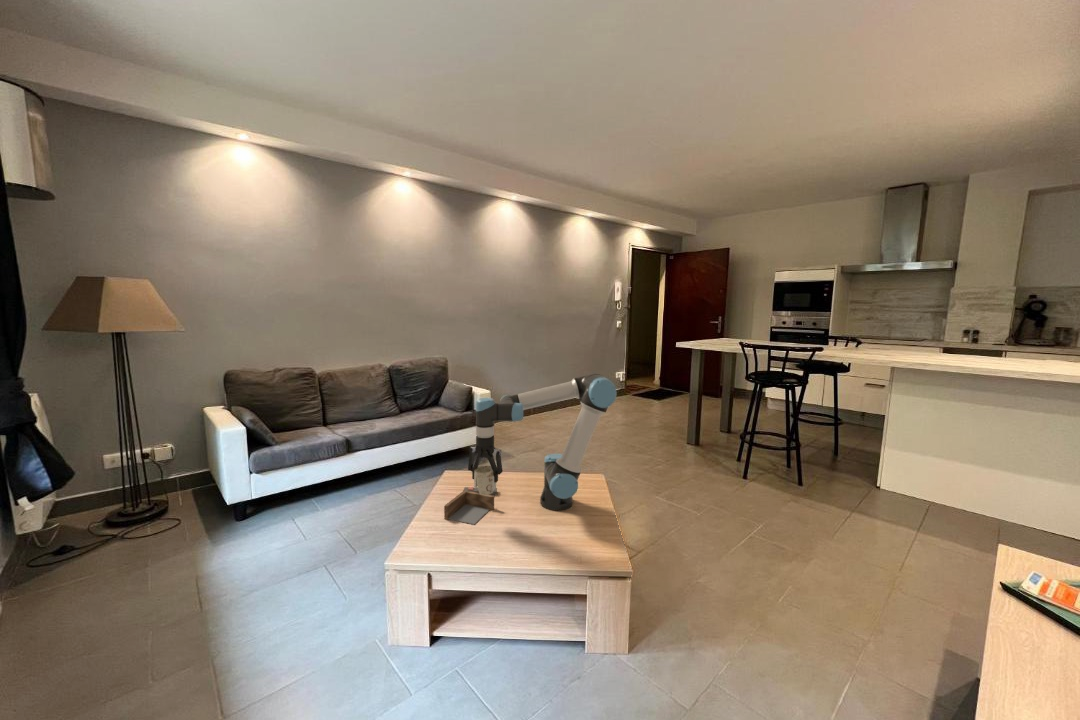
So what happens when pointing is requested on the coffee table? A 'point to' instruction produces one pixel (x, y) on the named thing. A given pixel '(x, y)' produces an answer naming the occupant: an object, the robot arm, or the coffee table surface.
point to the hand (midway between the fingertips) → (485, 487)
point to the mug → (484, 479)
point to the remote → (478, 490)
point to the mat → (469, 514)
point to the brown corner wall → (468, 502)
